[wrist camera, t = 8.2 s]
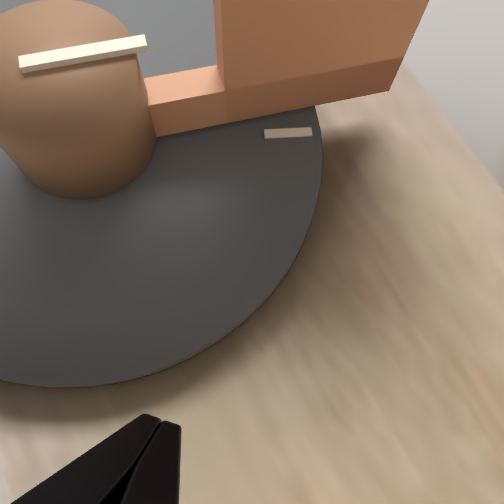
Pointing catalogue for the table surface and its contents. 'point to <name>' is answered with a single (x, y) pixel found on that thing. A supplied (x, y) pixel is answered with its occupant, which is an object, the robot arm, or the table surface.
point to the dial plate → (154, 232)
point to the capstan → (177, 79)
